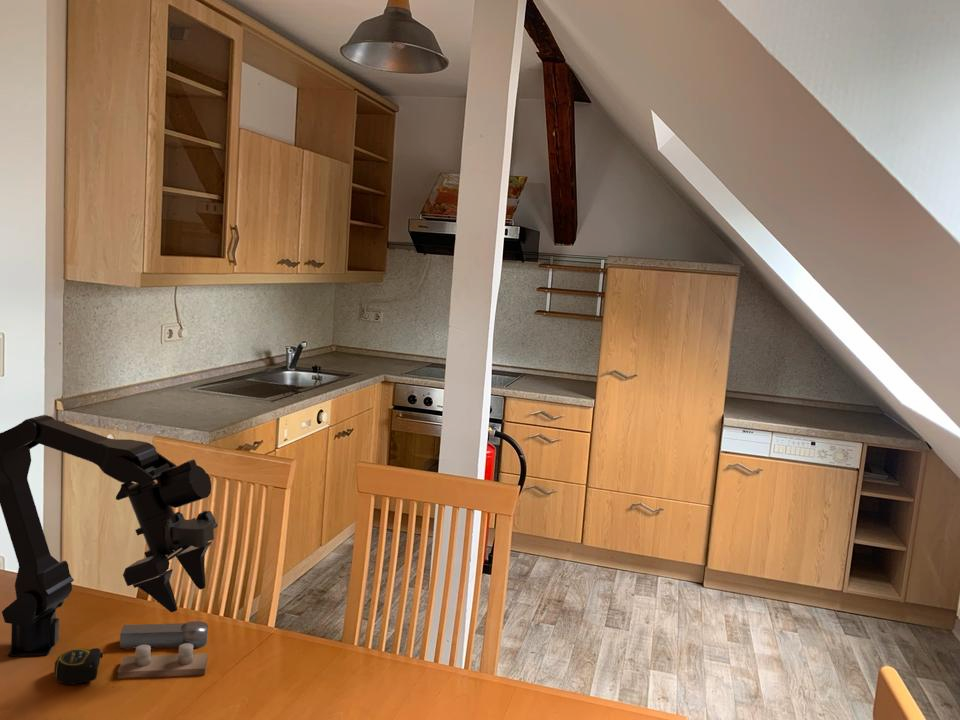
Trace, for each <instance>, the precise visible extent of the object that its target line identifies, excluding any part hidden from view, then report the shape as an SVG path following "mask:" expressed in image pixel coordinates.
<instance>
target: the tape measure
mask: <svg viewBox="0 0 960 720" xmlns="http://www.w3.org/2000/svg"><path fill="white" fill-rule="evenodd" d="M103 657H104V652H102V650H101V649H100V648H98V647H95V648H90V649H88V648H74V649H71V650H67V651H65V652H63V653H61V654H60V655H59V656H58V657H57V659H56V660H55V662H54V669H53V670H54V671H53V673H54V677H55V678H56V680H57V681H58V682H60V683H62V684H68V685H76V684H81V683H86V682H93V681H94V680H96V679H97V675H98V669H99V667H100V666H99V665H100V660H101V659H103Z"/></svg>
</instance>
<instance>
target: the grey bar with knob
mask: <svg viewBox="0 0 960 720" xmlns="http://www.w3.org/2000/svg"><path fill="white" fill-rule="evenodd" d="M208 631H209V624H208V623H207V622H204V621H201V620H192V621H187V622H184V623H182V622H181V623H180V622H179V623H152V624H151V623H150V624H143V623H142V624H124V625H123V626H122V629H121V631H120V633H119V636H120V637H119V649H120V648H134V647H135V648H136V647H137V646H140V645H149V646H151V647H165V648H179V646H180V645H181V644H185V643H190V644H193V648H195V649H200V648H201V647H202V648H203V647H204V646H205V644H206V645H207V643H208V635H209V632H208ZM175 646H177V647H175ZM199 647H200V648H199Z"/></svg>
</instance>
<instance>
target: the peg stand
mask: <svg viewBox="0 0 960 720" xmlns="http://www.w3.org/2000/svg"><path fill="white" fill-rule="evenodd" d="M151 651H152V648H151V646H149V645H140V646H137V647H136V649H135V652H134V653H135V654H134V655H129V656H128V655H126V656H125V655H124V656H123V657H122V659H121V662H120V665H119V668H118V670H117V679H127V678H126V677H132V678H131V679H133V677H137V679H139V678H138V677H140V678H160V677H183V676H184V677H186V676H205V674H206V669H207V665H208V658H209V657H208V655H209V654H208V653H194V649H193V644H190V643H185V644H181V645H180V646H179V647H178V654H159V655H158V654H154V655H153V654H152V655H151ZM124 677H125V678H124Z"/></svg>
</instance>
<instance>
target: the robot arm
mask: <svg viewBox="0 0 960 720" xmlns="http://www.w3.org/2000/svg"><path fill="white" fill-rule="evenodd" d="M38 445H43V446H45V447H48V448H51V449H53V450H57V451H59V452H61V453H65V454H67V455H70V456H73V457H76V458H78V459H82V460H84V461H87V462H90V463H92V464H94V465H96V466H98V467H99V469H100V470H101V472H103V474H105V475H107V476H109V477H110V478H112V479H114V480H116V481H117V482H120V483H122V484H121V485H120V489H119V491H118V492H117V494H116V496H115V500H116V501H120V500H122V499H126V498H128V499H129V502H130V504H131V507H132V510H133V512H134V515H135V517H136V519H137V522H138V525H139V527H138V528H136V529H135V533H136V536H139V535H143V537H144V538H143V539H144V540H145V543H146V545H147V548H148V550H146V551H144V556H145V558H142V559H139V560H136V561H135V562H133V563H131V564H130V565H129V566H127V567H125V569H124V571H123V574H122V576H123V579H124V582H125V584H126V587H129V586H132V587H133V588H134V589H136V588H139V589H140V590H141V591H143V592H144V593H146V594H147V595H149V596H150V597H151V598H153V599H154V600H155V601H157V602H158V603H159V604H160V605H161V606H162V607H164V608H165V609H166V610H167V611H169V612H170V613H174V612H177V611H178V605H177V601H176V599H175V598H176V597H175V595H174V591H173V588H172V586H171V585H172V584H171V582H170V579H171V576H172V573H173V570H174V569H170V560H172V559H173V558H175V557H176V559H177V560H178V562H179V564H180V565H181V566H182V567H183V569H184V571H185V572H186V573H187V575H188V576H189V577H190V579H191V581H192V583H194V585H195V586H196V587H197V588H198V590H204V589H205V588H206V572H205V571H206V568H205V567H206V566H205V555H206V553H207V551H208V549H209V547H210V546H211V545H212V541H213V540H214V539H215V532H214V531H215V529H217V528H218V526H219V525H218V523H217V522H216V518H215V516H214V514H213V512H212V511H211V510H203V511H201V512H200V513H198V514H197V516H196V517H193V518H191V519H186V518H185V517H184V514H183V513H182V512H181V511H176V512H175V510H174V508H180V507H184V506H185V505H189V504H192V503H194V502H198V501H201V500H203V499H206V498H208V497H209V496H210V495H211V492H212V480H211V477H210V475H209V473H207V472H206V470H205V469H204V468H203V467H201V466H200V465H197V462H196V460H195V459H190V460H188V461H186V462H183V463H181V464H180V465H176V464H175V463H174V462H172V461H170V460H169V459H168V458H166V457H165V456H164V455H162V454H160V453H159V452H158V451H157V447H155V445H153V444H152V443H150V442H147V441H141V440H135V439H122V438H121V439H116V438H110V437H106V436H103V435H100V434H98V433H95V432H92V431H90V430H86V429H83V428H80V427H77V426H74V425H72V424H69V423H66V422H64V421H60V420H58V419H55V418H54V417H53V416H51V415H48V414H42V415H41V414H40V415H38V416H35V417H29V418H27V419H24V420H23V421H22V422H21V423H19V424H17V425H15V426H13V427H11V428H9V429H7V430H5V431H2V432H0V508H1V512H2V514H3V518H4V521H5V524H6V528H7V531H8V533H9V538H10V540H11V544H12V547H13V550H14V553H15V558H16V560H17V563H18V570H17V573H16V577H15V583H14V589H15V590H14V591H15V595H16V596H15V597H16V599H15V600H14V601H13V602H11V603H10V604H9V605H8V606H6V607H5V608H4V609H3V610H1V614H2V617H3V621H4V623H6V624H11V634H10V635H11V636H10V637H11V640H10V643H11V644H10V645H11V646H10V648H9V650H8V652H7V656H8V657H22V656H23V657H24V656H25V657H26V656H47V655H49V654H50V653H51V651H52V649H53V647H55V646H56V644H57V642H58V641H59V637H60V636H59V635H60V634H59V632H60V629H59V628H60V619H59V617H57V615H56V614H57V609H58V608H61V607H62V606H63V604H64V602H65V600H66V599H68V598H69V596H70V594H71V593H72V591H73V584H72V583H73V582H74V581H75V580H74V578H73V577H72V575H71V572H70V568H69V567H70V566H69V563H68V561H66V560H62V561H61V562H60V561H59V560H57V559H56V558H55V557H53V556H52V555H51V552H50V549H49V546H48V542H47V539H46V536H45V532H44V529H43V526H42V523H41V520H40V516H39V513H38V510H37V506H36V504H35V500H34V497H33V496H34V495H33V494H32V490H31V487H30V483H29V479H28V477H29V471H30V467H31V463H32V456H31V449H33V448H35V447H36V446H38ZM155 481H156V482H155Z"/></svg>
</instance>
